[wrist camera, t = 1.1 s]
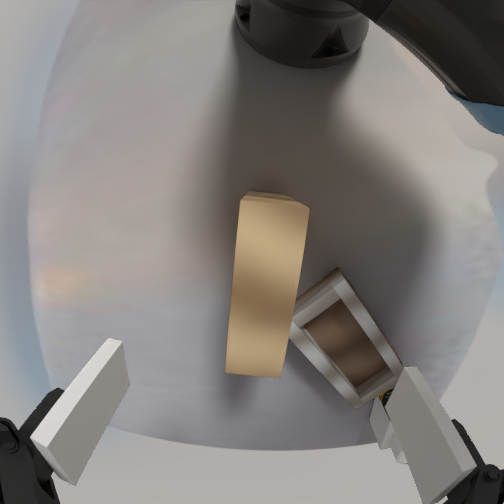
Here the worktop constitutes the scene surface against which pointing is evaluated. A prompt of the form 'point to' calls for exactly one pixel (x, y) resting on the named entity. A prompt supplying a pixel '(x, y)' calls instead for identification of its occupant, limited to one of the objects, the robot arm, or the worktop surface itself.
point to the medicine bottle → (385, 426)
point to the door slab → (264, 282)
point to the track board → (344, 340)
